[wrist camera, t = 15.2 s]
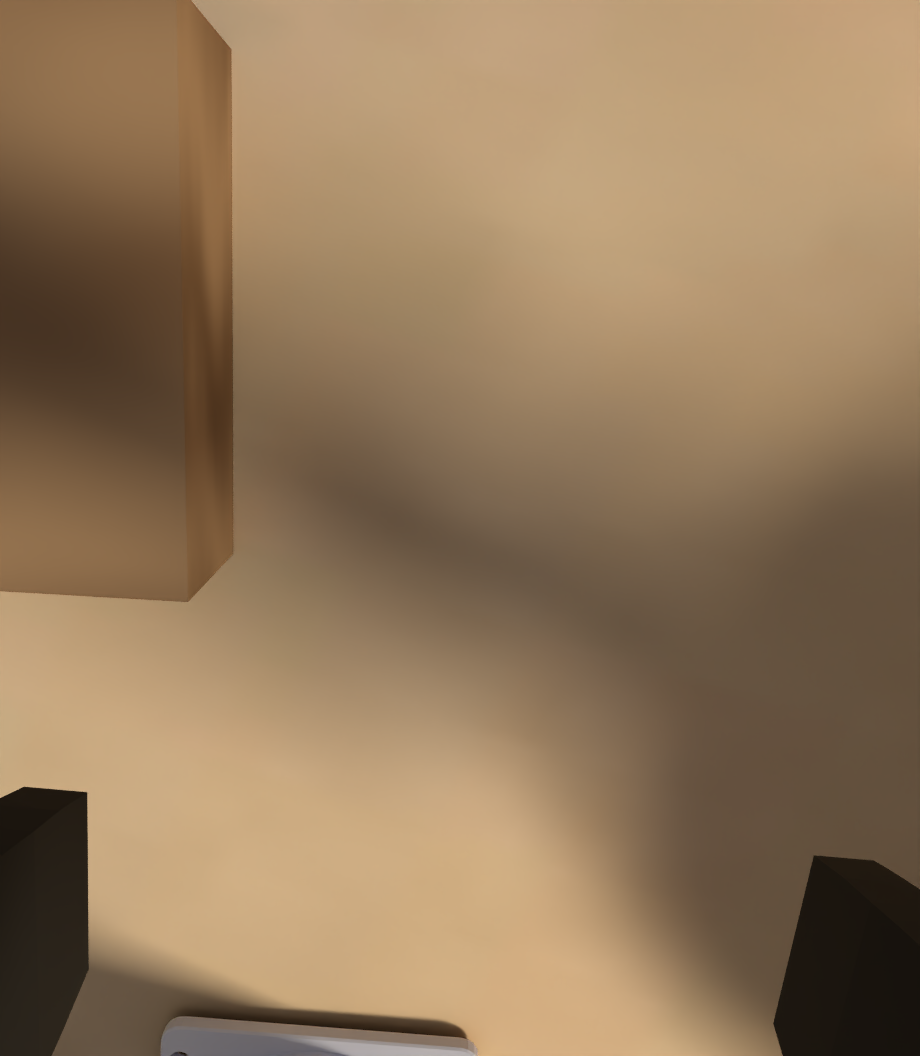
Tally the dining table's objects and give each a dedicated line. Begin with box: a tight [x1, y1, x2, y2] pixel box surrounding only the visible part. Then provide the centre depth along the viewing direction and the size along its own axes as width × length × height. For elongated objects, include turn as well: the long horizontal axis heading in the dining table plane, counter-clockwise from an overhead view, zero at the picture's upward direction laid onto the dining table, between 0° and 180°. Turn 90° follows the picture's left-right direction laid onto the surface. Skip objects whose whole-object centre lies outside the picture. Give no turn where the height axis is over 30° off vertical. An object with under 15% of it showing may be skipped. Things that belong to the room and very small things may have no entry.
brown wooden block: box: [0, 0, 233, 602], centre depth 15 cm, size 10×6×4 cm, turn 176°
